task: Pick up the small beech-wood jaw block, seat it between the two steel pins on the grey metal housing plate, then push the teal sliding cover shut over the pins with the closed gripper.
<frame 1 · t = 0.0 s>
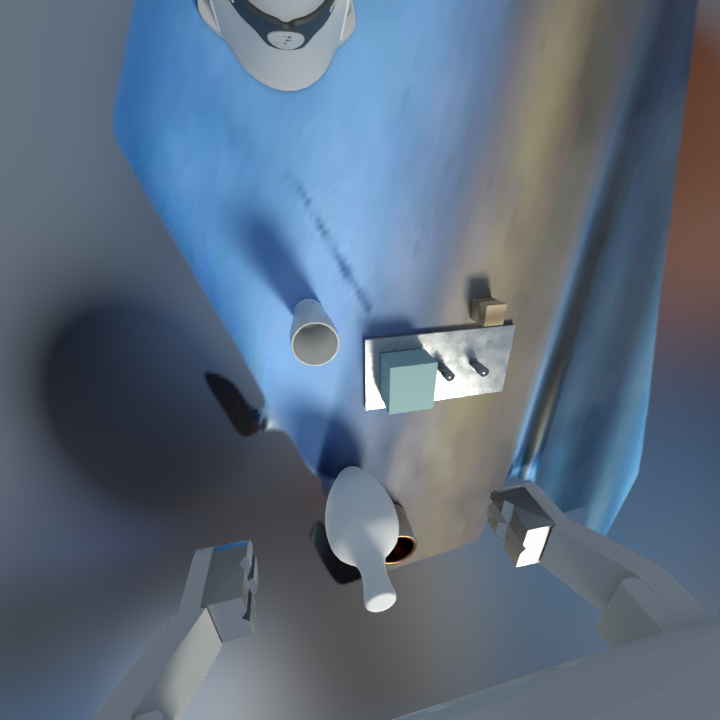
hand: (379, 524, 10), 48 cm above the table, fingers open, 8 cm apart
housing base: (446, 364, 67), on the table
cover: (407, 380, 61), point 4 cm above the table, slide at 10.0 cm
planter: (385, 515, 84), on the table
vase: (349, 472, 75), on the table
drinking glass: (308, 312, 56), on the table
jaw block: (480, 307, 63), on the table
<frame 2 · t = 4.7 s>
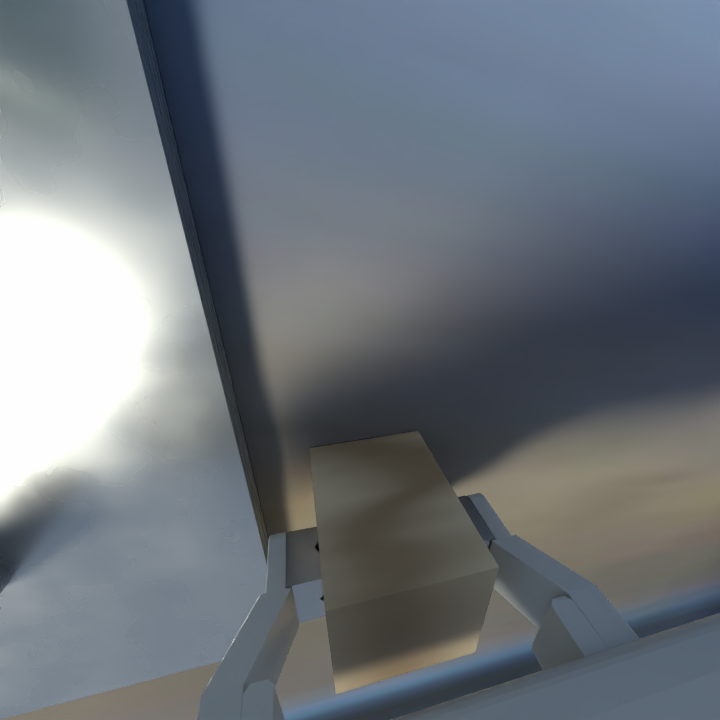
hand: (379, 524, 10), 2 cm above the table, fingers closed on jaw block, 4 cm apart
jaw block: (366, 479, 12), on the table, touching gripper
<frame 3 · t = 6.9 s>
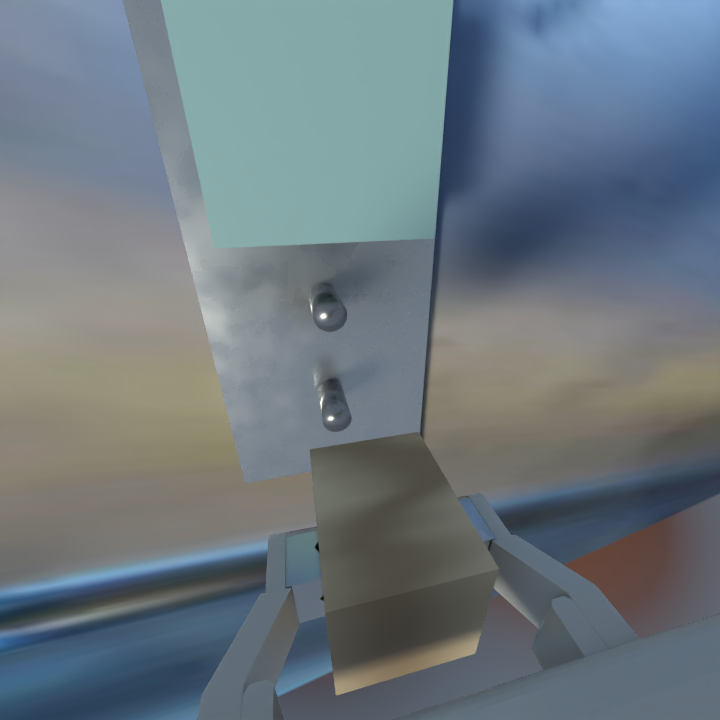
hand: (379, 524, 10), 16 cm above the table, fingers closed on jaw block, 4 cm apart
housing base: (323, 318, 24), on the table
cover: (317, 136, 15), point 4 cm above the table, slide at 10.0 cm
jaw block: (366, 480, 12), point 14 cm above the table, touching gripper
when the fingers open (4 cm above the table, at t = 9.3 s): jaw block drops 1 cm, resting on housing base.
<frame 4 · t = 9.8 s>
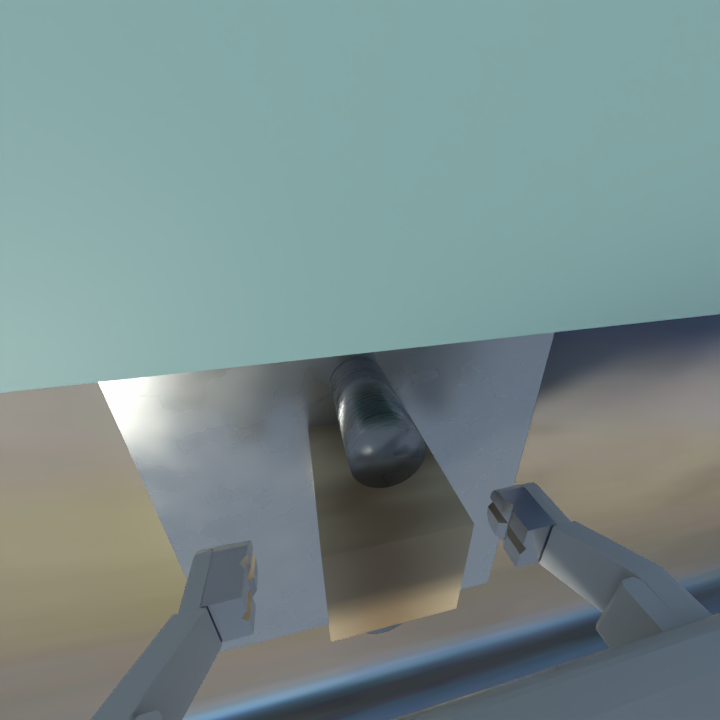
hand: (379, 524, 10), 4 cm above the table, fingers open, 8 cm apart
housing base: (353, 406, 13), on the table
jaw block: (360, 459, 13), point 1 cm above the table, touching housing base
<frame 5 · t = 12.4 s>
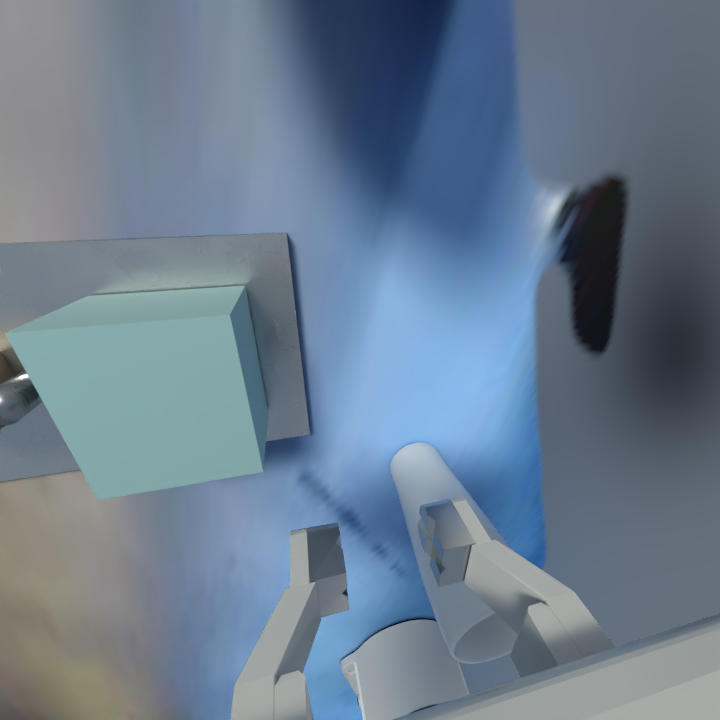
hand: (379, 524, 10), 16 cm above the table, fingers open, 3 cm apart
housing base: (27, 371, 21), on the table
cover: (176, 385, 19), point 4 cm above the table, slide at 10.0 cm
drinking glass: (412, 458, 32), on the table
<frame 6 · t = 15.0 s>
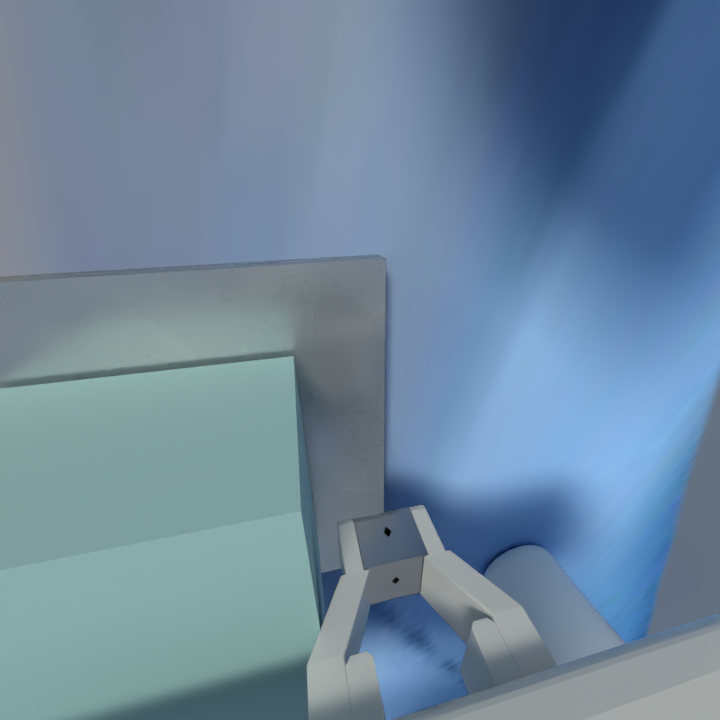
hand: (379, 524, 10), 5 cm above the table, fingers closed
cover: (164, 565, 9), point 4 cm above the table, slide at 9.6 cm, touching gripper
drinking glass: (511, 562, 23), on the table
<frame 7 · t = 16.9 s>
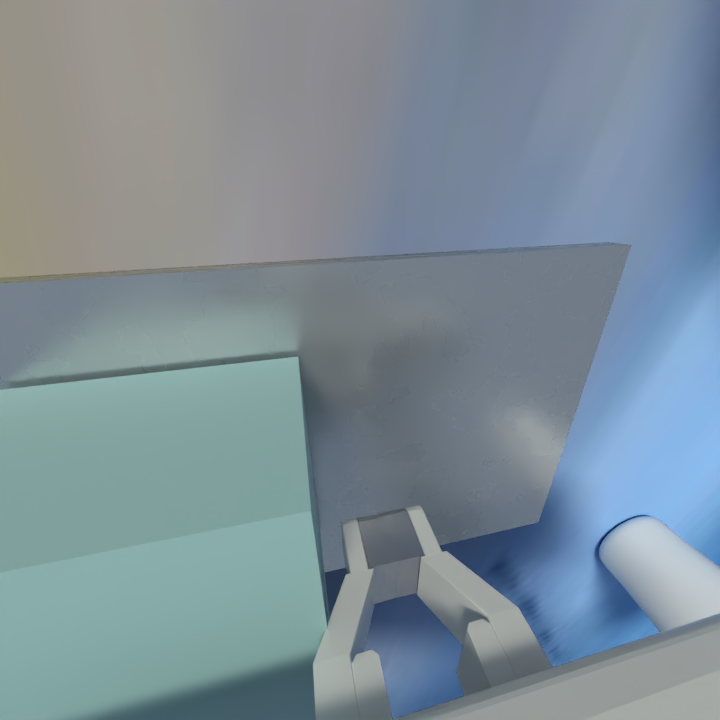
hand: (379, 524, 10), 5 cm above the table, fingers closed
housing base: (192, 462, 13), on the table
cover: (170, 565, 10), point 4 cm above the table, slide at -0.1 cm, touching gripper
drinking glass: (622, 533, 25), on the table
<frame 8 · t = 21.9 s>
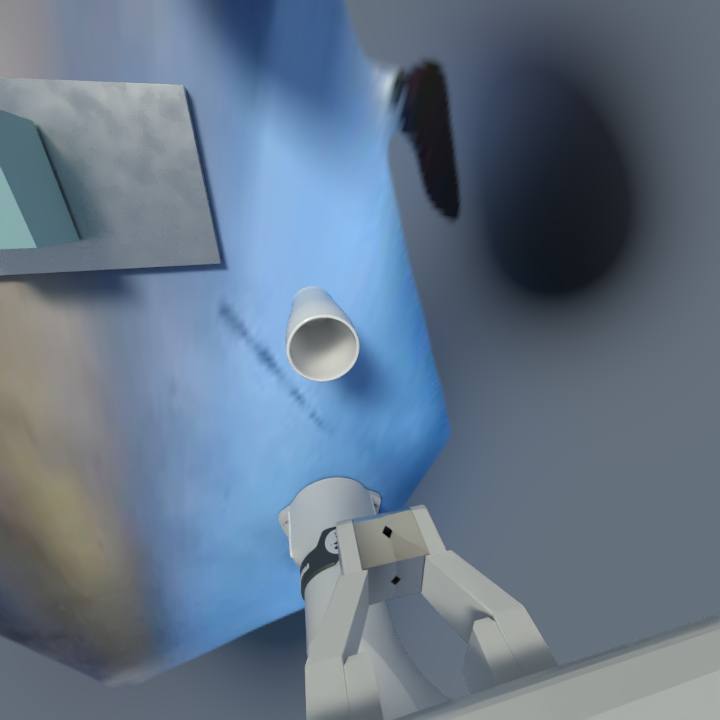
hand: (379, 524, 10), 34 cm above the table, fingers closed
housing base: (7, 186, 30), on the table
drinking glass: (312, 304, 42), on the table
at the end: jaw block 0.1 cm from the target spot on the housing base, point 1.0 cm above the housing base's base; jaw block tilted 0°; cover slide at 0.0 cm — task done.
